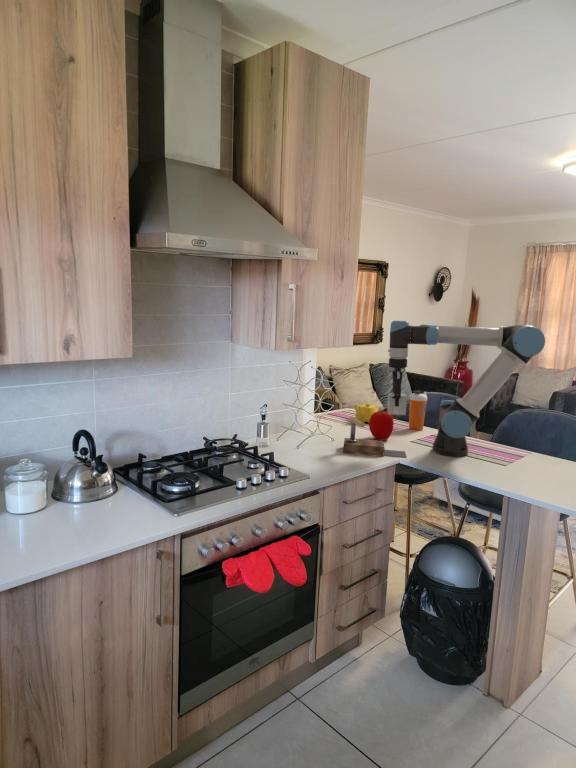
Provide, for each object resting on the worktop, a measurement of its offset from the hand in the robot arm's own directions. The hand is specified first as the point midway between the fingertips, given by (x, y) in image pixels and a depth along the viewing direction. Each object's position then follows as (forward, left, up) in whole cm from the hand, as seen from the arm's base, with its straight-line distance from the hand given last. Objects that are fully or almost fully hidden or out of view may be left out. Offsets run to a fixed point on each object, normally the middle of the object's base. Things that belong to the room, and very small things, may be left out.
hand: (395, 411), depth 224 cm
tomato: (+4, -24, -19) cm, 31 cm away
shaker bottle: (-15, -51, -19) cm, 56 cm away
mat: (-1, 0, -18) cm, 18 cm away
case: (+12, 0, -18) cm, 22 cm away
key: (+16, +3, -14) cm, 22 cm away
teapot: (+10, -60, -19) cm, 64 cm away
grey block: (0, 0, -1) cm, 1 cm away
